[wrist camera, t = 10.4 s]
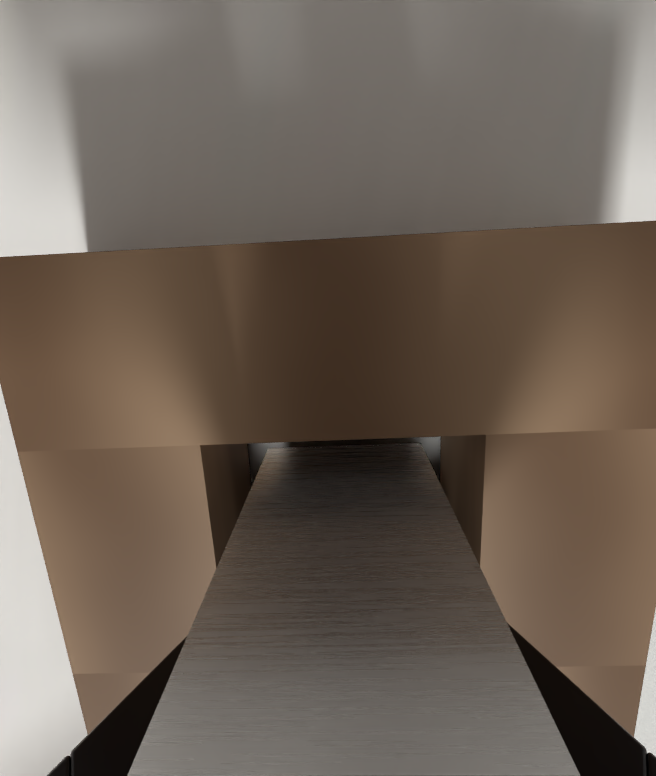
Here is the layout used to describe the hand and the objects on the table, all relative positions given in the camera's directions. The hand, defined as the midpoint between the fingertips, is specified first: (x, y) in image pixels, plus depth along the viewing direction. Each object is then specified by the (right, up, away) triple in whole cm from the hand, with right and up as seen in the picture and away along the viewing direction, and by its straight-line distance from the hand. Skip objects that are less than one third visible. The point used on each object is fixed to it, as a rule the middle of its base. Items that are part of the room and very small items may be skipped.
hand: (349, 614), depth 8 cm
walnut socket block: (0, +1, +5) cm, 6 cm away
